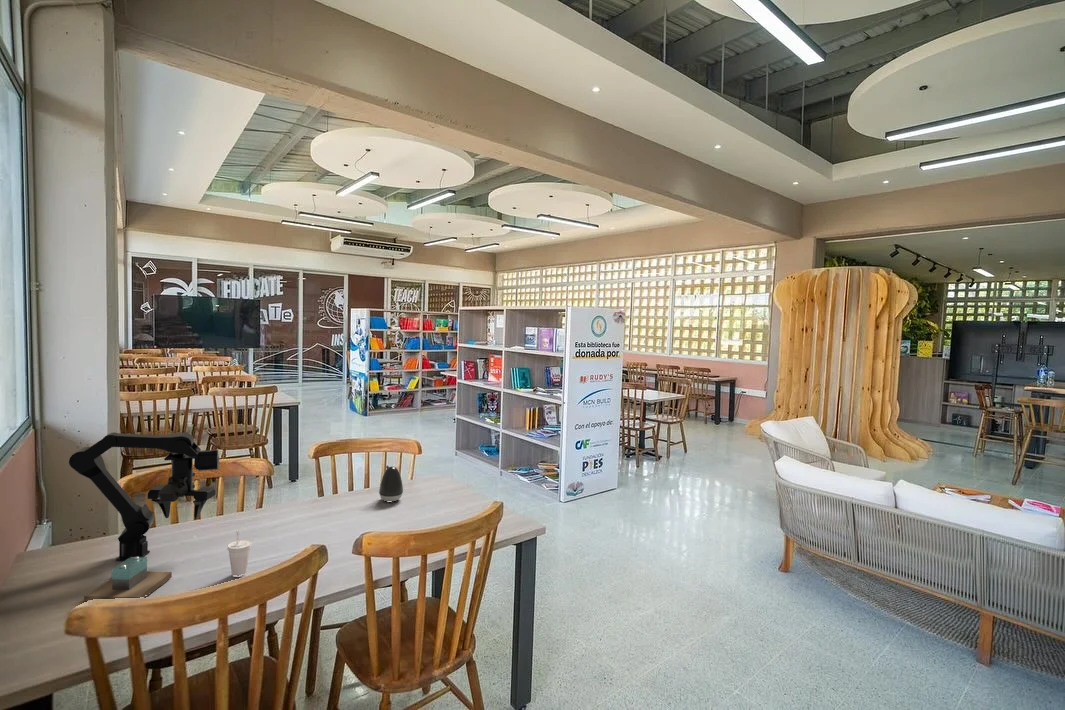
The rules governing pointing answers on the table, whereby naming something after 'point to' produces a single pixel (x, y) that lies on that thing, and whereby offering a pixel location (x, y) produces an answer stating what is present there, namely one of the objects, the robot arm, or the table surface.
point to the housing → (129, 573)
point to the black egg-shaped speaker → (391, 485)
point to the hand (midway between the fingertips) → (181, 518)
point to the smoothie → (239, 555)
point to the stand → (137, 591)
